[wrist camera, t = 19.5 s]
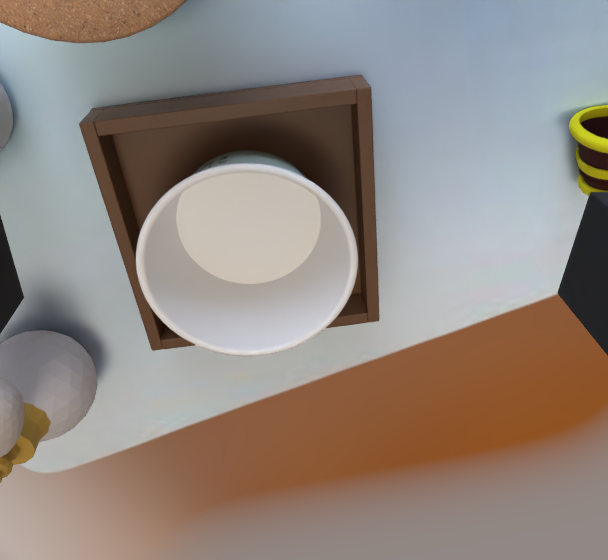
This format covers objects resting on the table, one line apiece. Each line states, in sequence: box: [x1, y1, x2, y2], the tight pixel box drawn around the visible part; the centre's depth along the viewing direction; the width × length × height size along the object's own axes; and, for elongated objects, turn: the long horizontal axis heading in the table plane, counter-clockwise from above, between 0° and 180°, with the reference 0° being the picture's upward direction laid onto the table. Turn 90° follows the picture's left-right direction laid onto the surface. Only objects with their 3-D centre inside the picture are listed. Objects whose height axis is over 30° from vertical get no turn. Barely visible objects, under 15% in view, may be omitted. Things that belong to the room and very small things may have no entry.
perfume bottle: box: [0, 330, 97, 482], centre depth 35 cm, size 8×10×12 cm
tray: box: [79, 75, 379, 350], centre depth 35 cm, size 16×16×3 cm
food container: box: [136, 150, 358, 356], centre depth 33 cm, size 12×12×6 cm
